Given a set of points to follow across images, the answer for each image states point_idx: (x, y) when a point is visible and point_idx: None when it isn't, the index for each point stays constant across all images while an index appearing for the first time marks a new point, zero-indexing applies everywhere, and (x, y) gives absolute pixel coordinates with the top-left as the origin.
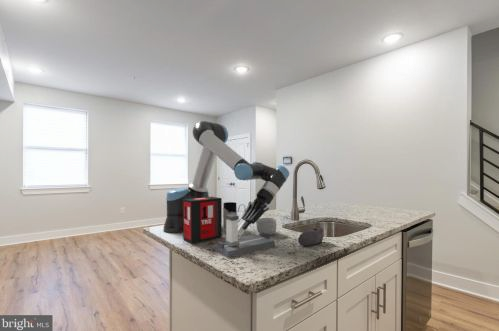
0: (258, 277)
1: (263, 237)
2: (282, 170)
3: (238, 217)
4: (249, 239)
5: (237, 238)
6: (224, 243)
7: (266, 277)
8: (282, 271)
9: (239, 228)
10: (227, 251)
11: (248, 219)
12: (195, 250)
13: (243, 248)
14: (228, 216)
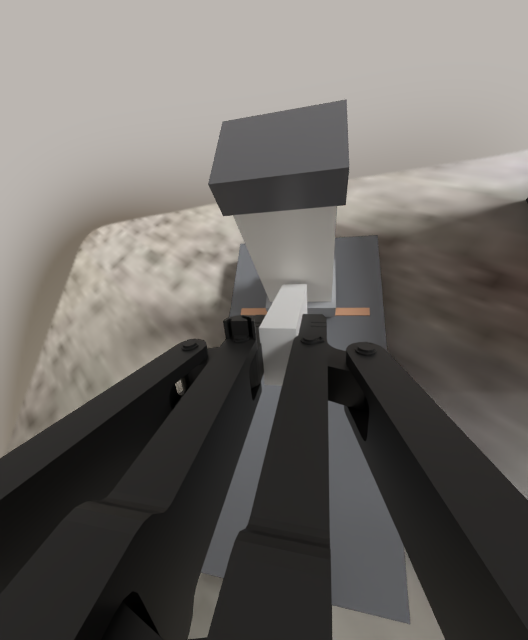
0: (85, 262)
1: None
2: None
3: (216, 198)
4: (330, 440)
5: (267, 293)
6: (350, 276)
7: (69, 277)
8: (48, 334)
9: (281, 296)
10: (244, 244)
11: (223, 343)
12: (410, 194)
13: (230, 316)
14: (276, 117)
